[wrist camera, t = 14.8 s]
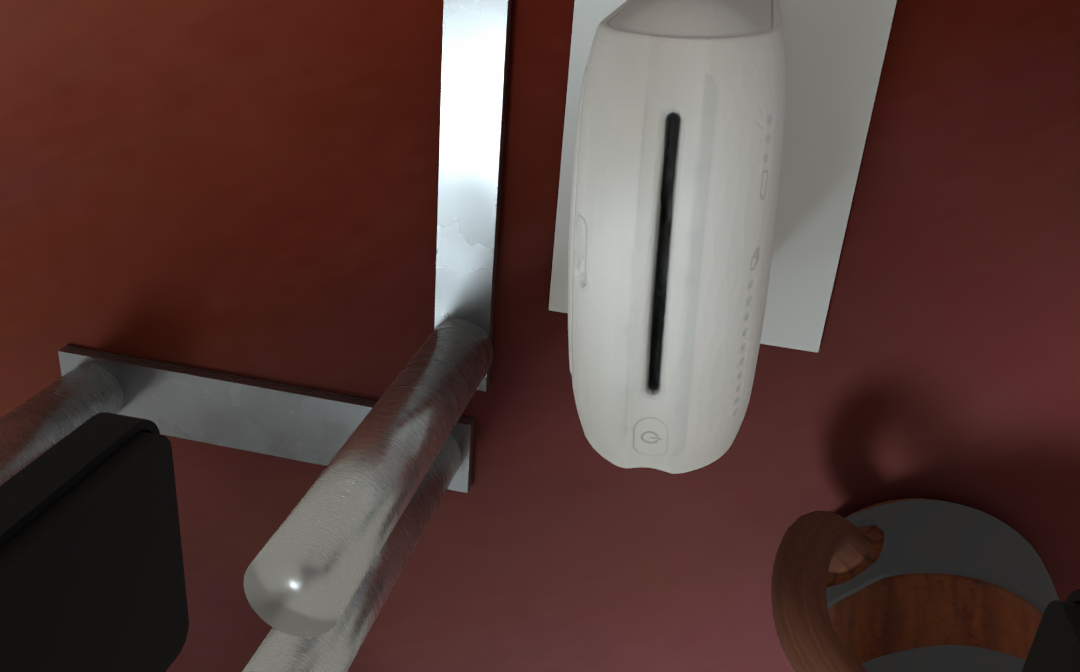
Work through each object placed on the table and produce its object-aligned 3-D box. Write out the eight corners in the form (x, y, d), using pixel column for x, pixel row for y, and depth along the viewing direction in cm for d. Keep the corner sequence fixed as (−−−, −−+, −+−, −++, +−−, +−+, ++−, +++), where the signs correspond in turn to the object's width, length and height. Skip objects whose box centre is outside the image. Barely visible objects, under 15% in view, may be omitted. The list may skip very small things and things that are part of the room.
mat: (817, 347, 31) (818, 352, 31) (550, 306, 33) (548, 310, 32) (913, -83, 26) (915, -83, 25) (586, -110, 27) (583, -110, 27)
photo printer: (753, 305, 31) (744, 530, 20) (621, 292, 32) (542, 502, 21) (795, -36, 26) (812, 10, 15) (641, -41, 27) (554, 0, 16)
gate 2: (495, 385, 35) (342, 656, 22) (432, 374, 35) (247, 635, 23) (534, -256, 26) (319, -399, 14) (450, -261, 26) (167, -404, 14)
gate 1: (471, 484, 37) (319, 783, 24) (78, 409, 39) (-241, 643, 27) (475, 417, 35) (315, 696, 23) (67, 344, 38) (-272, 559, 26)
